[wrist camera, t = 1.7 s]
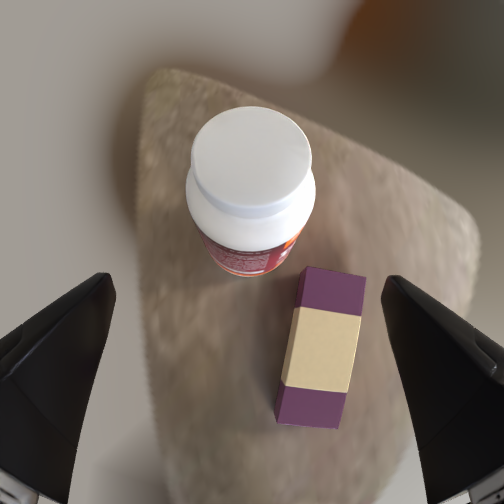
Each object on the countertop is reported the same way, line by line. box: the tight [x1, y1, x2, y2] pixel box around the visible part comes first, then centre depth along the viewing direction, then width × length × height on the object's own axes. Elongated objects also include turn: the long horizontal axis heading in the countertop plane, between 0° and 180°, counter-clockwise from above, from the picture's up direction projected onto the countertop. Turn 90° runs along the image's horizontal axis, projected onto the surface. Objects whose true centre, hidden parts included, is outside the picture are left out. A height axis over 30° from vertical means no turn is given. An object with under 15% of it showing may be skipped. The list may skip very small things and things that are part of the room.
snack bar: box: [274, 266, 366, 429], centre depth 19 cm, size 10×4×2 cm, turn 169°
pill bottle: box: [186, 106, 315, 277], centre depth 17 cm, size 6×6×11 cm
